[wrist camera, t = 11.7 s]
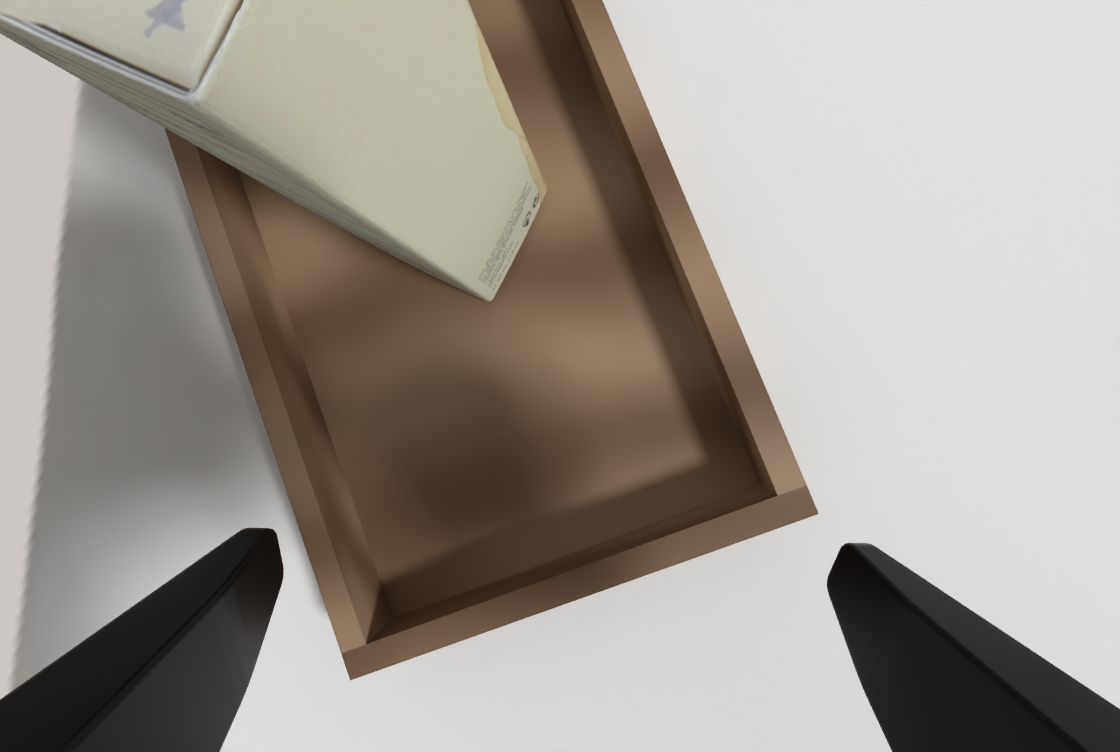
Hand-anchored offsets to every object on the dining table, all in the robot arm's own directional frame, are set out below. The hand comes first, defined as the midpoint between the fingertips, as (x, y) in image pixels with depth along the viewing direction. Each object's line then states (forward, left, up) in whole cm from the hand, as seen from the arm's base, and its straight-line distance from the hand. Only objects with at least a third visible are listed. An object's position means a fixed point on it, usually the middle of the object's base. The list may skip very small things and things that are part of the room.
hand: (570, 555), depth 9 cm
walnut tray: (+7, +2, -9) cm, 12 cm away
